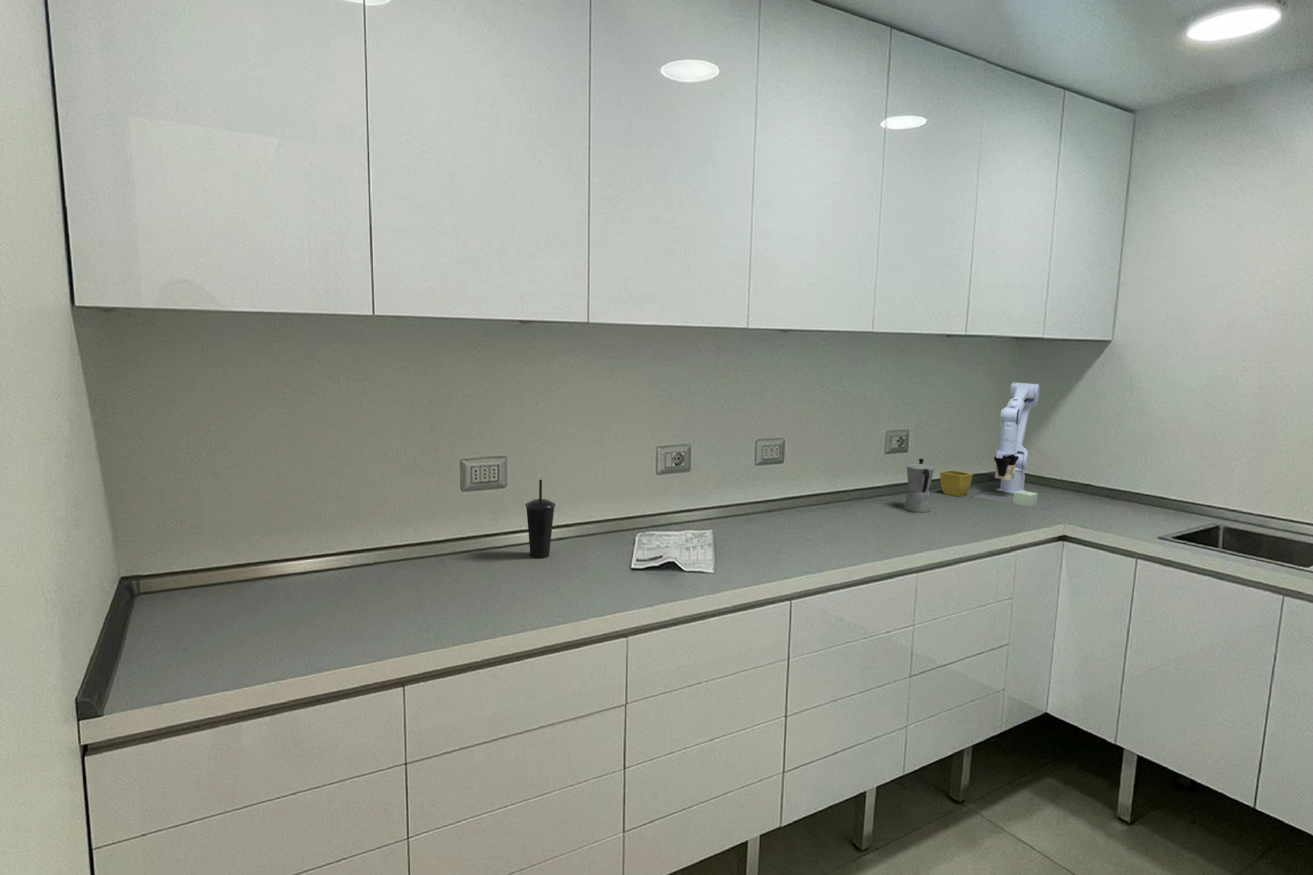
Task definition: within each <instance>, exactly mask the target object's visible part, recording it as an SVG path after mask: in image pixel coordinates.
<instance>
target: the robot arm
mask: <svg viewBox="0 0 1313 875" xmlns="http://www.w3.org/2000/svg"><path fill="white" fill-rule="evenodd" d="M1040 388H1041V386H1040V384H1039V383H1025V382H1015V381H1013V382H1012V383H1011V384H1010V390H1009V395H1010V399H1009V400H1008V402H1007V404H1006V406H1005V407H1004V408H1001V412H1000V418H999V419H1000V437H999V447H998V449H995V452H996V454H995V456H994V457H993V460H994V462H995V464H996V465H997V469H998V475H999V476H1003V477H1004V476H1005V474H1006V471H1007V467H1008V465H1014V466H1015V473H1014V479H1011V480H1004V479H1000V486H999V487H1000V488H997V489H996V491H1001V492H1006V493H1013V494H1014V492H1017V491H1020V490H1022V491H1026V490H1025V488H1024V487H1025V479H1026V475H1025V472H1024V471H1025V470H1027V468H1028V464H1029V455H1030V453H1029V450H1028V449H1027V448H1025V447H1024V446H1023V445H1024V442H1025V441H1024V440H1025V435H1026V432H1027V431H1026V430H1027V425H1028V420H1029V415H1030V412H1031V411H1032V410H1031V409H1032V408H1034V407H1036V406H1037V405H1038V401H1039V396H1040ZM996 465H995V466H996Z"/></svg>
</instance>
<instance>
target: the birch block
mask: <svg viewBox="0 0 1313 875" xmlns="http://www.w3.org/2000/svg"><path fill="white" fill-rule="evenodd" d="M1014 473H1015V466H1014V465H1008V467H1007V471H1006V474H1005V476H1004V477H1003V476H999V475H998V469H997V465H995V472H994V479H1000V480H1001V479H1004V480H1011V479H1014Z"/></svg>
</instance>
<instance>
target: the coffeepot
mask: <svg viewBox="0 0 1313 875" xmlns="http://www.w3.org/2000/svg"><path fill="white" fill-rule="evenodd" d="M918 461H919V463H914V464H913V463H912V464H907V466H906V475H907V476H906V477H907V485H908V490H907V492H906V497H905V500H904V504H903V509H904V510H906V511H909V512H912V511H913V513H929V512H931V510H932V508H931V496H930V487H931V485H932V479H933V476H934V473H935V472H934V471H935V469H936V467H934V466H931V465H928V464H924V459H923V458H919V459H918Z"/></svg>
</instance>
